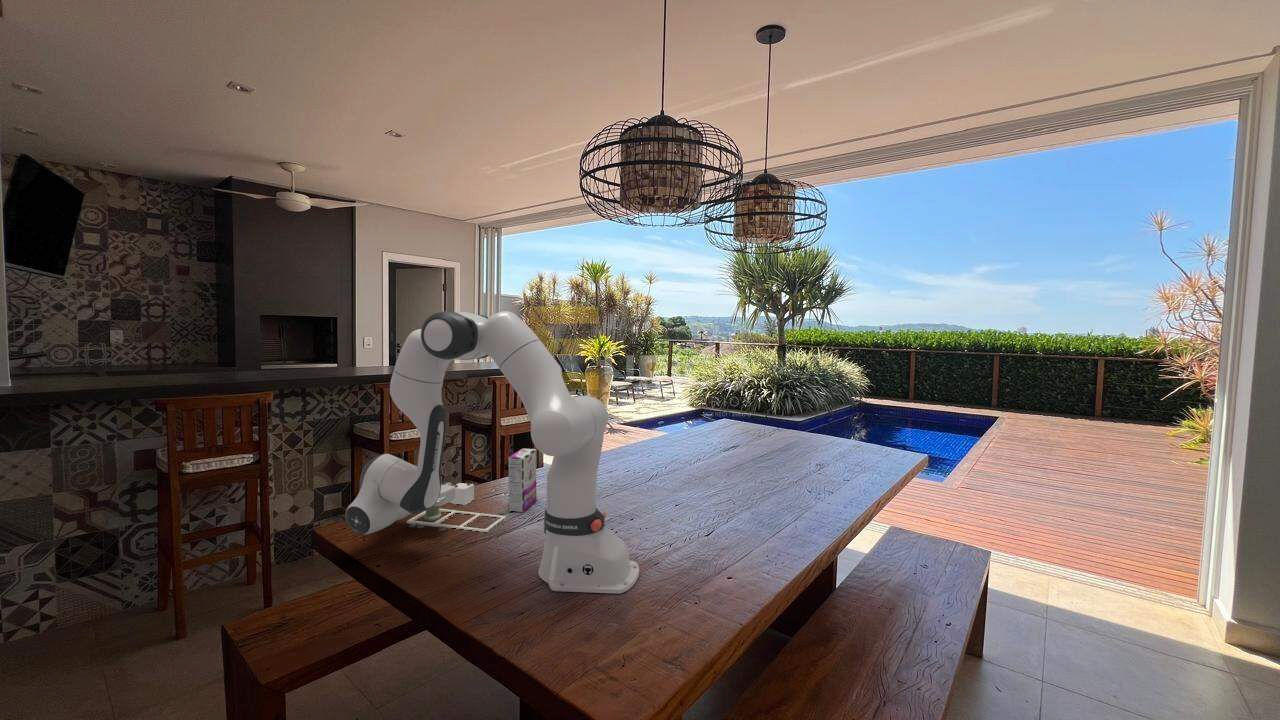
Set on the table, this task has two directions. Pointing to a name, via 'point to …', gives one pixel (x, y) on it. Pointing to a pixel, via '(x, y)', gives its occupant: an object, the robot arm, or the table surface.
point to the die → (463, 493)
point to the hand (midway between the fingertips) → (434, 483)
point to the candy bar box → (522, 479)
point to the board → (436, 524)
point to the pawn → (432, 514)
